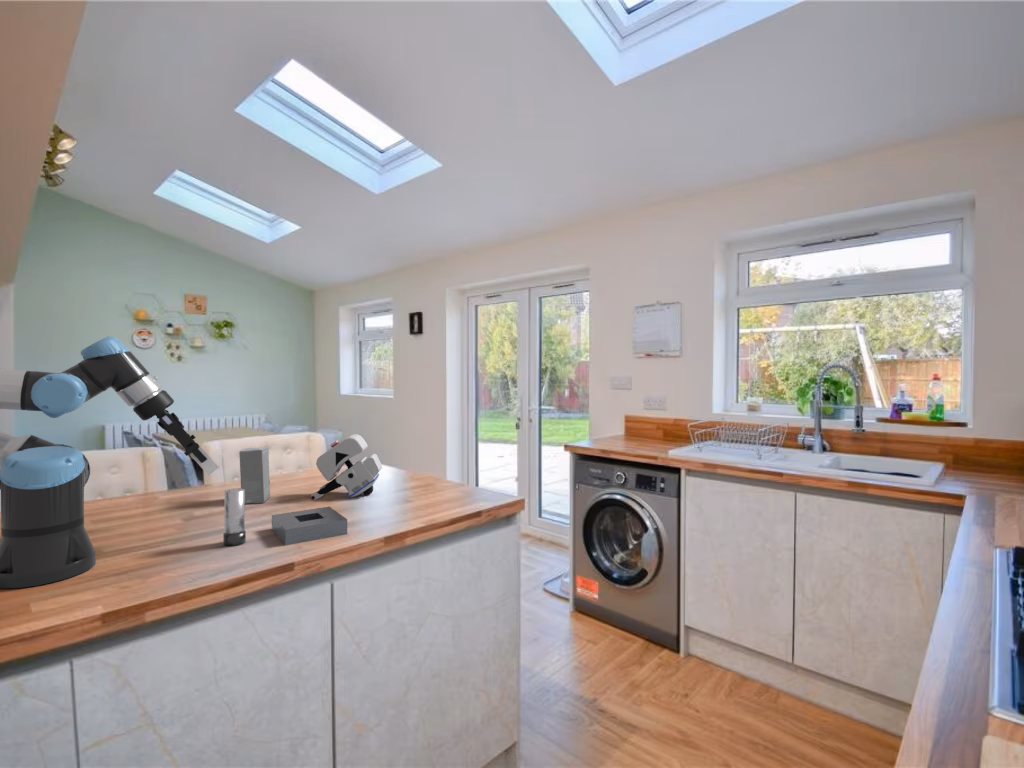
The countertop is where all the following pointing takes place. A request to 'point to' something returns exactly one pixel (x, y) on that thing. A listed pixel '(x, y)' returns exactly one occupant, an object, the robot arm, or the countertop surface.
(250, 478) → the product box
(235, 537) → the grey black cylinder
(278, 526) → the chuck block
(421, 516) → the countertop surface
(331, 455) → the robotic device
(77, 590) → the countertop surface
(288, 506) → the countertop surface
